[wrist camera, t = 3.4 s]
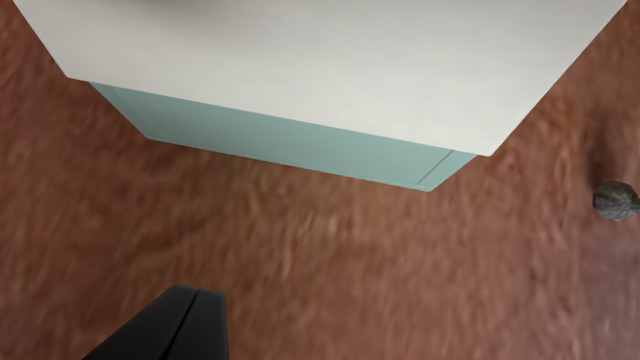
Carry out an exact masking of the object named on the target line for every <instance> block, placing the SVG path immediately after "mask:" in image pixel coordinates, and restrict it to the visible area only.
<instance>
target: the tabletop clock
mask: <svg viewBox="0 0 640 360" xmlns="http://www.w3.org/2000/svg"><path fill="white" fill-rule="evenodd" d="M593 207H594V209H595V210H596V211H597V213H598V214H599V215H600V216H601V217H602V218H606V219H610V220H614V221H620V220H623V219H625V218H628V217H630V216H632V214H633V213H634V212H637V213H640V199H638V196H637V194H636V193H635V191H634V190H633V189H632V187H631V186H630V185H628V184H626V183H622V182H618V181H610V182H608V183H605V184H603V185H600V186H599V187H598V188H597V190H596V191H595V192H594V194H593Z"/></svg>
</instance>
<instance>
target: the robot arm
mask: <svg viewBox="0 0 640 360" xmlns="http://www.w3.org/2000/svg"><path fill="white" fill-rule="evenodd" d="M81 360H229V350H228V333H227V316H226V299H225V295H224V293H222V292H217V291H212V290H207V289H202V290H201V291H199V289H198V288H196V287H192V286H186V285H181V284H175V285H173V286H171V287H170V288H169V289H167V290H166V291H165V292H164V293H163V294H161V295H160V296H159V297H158V298H156V299H155V300H154V301H153V302H151V303H150V304H149V305H148V306H147V307H145V308H144V309H143V310H142V311H140V312H139V313H138V314H137V315H135V316H134V317H133V318H132V319H130V320H129V321H128V322H127V323H126V324H124V325H123V326H122V327H121V328H119V329H118V330H117V331H116V332H114V333H113V334H112V335H111V336H109V337H108V338H107V339H106V340H105V341H103V342H102V343H101V344H100V345H98V346H97V347H96V348H95V349H93V350H92V351H91V352H90V353H88V354H87V355H86V356H85V357H84V358H82V359H81Z"/></svg>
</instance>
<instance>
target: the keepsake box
mask: <svg viewBox="0 0 640 360" xmlns="http://www.w3.org/2000/svg"><path fill="white" fill-rule="evenodd" d="M88 82H89V81H88ZM89 83H90V84H91V85H92V86H93V87H94V88H95V89H96V90H97V91H98V92H100V93H101V94H102V95H103V96H104V97H105V98H106V99H107V100H108V101H109V102H110V103H111V104H112V105H113V106H114V107H115V108H116V109H117V110H118V111H119V112H120V113H121V114H122V115H123V116H124V117H125V118H126V119H127V120H129V121H130V122H131V123H132V124H133V125H134V126H135V127H136V128H137V129H138V130H139V131H140V132H141V133H142V134H143V135H144V136H145V137H146V138H147V139H151V140H157V141H162V142H167V143H173V144H178V145H183V146H188V147H194V148H199V149H204V150H210V151H215V152H220V153H226V154H231V155H236V156H241V157H247V158H252V159H257V160H263V161H268V162H273V163H279V164H284V165H289V166H295V167H300V168H305V169H310V170H316V171H321V172H326V173H332V174H337V175H342V176H348V177H353V178H358V179H364V180H369V181H374V182H379V183H385V184H390V185H395V186H401V187H406V188H411V189H417V190H422V191H427V192H431V191H432V190H433V189H434V188H436V187H437V186H438V185H440V184H441V183H442V182H443V181H445V180H446V179H447V178H448V177H450V176H451V175H452V174H454V173H455V172H456V171H457V170H459V169H460V168H461V167H462V166H464V165H465V164H466V163H468V162H469V161H470V160H471V159H473V158H474V157H475V156H476V155H478V154H473V153H467V152H462V151H457V150H451V149H446V148H441V147H435V146H430V145H425V144H419V143H414V142H409V141H403V140H398V139H393V138H387V137H382V136H377V135H371V134H366V133H361V132H355V131H350V130H345V129H339V128H334V127H329V126H323V125H318V124H313V123H307V122H302V121H297V120H291V119H286V118H281V117H275V116H270V115H265V114H259V113H254V112H249V111H243V110H238V109H233V108H227V107H222V106H217V105H211V104H206V103H201V102H195V101H190V100H185V99H179V98H174V97H169V96H163V95H158V94H153V93H147V92H142V91H137V90H131V89H126V88H121V87H115V86H110V85H105V84H99V83H94V82H89Z"/></svg>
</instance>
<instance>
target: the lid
mask: <svg viewBox="0 0 640 360" xmlns="http://www.w3.org/2000/svg"><path fill="white" fill-rule="evenodd" d="M13 2H14V3H15V5H16V6H17V7H18V9H19V10H20V12H21V13H22V15H23V16H24V17H25V19H26V20H27V22H28V23H29V25H30V26H31V27H32V29H33V30H34V32H35V33H36V34H37V36H38V37H39V39H40V40H41V42H42V43H43V44H44V46H45V47H46V49H47V50H48V52H49V53H50V54H51V56H52V57H53V59H54V60H55V61H56V63H57V64H58V66H59V67H60V69H61V70H62V71H63V73H64V74H65V76H67V77H68V78H73V79H78V80H83V81H89V82H94V83H99V84H105V85H110V86H115V87H121V88H126V89H131V90H137V91H142V92H147V93H153V94H158V95H163V96H169V97H174V98H179V99H185V100H190V101H195V102H201V103H206V104H211V105H217V106H222V107H227V108H233V109H238V110H243V111H249V112H254V113H259V114H265V115H270V116H275V117H281V118H286V119H291V120H297V121H302V122H307V123H313V124H318V125H323V126H329V127H334V128H339V129H345V130H350V131H355V132H361V133H366V134H371V135H377V136H382V137H387V138H393V139H398V140H403V141H409V142H414V143H419V144H425V145H430V146H435V147H441V148H446V149H451V150H457V151H462V152H467V153H473V154H478V155H483V156H491V155H492V154H493V153H494V152H495V151H496V150H497V148H498V147H499V146H500V145H501V144H502V143H503V142H504V140H505V139H506V138H507V137H508V136H509V135H510V134H511V132H512V131H513V130H514V129H515V128H516V127H517V126H518V124H519V123H520V122H521V121H522V120H523V119H524V118H525V117H526V115H527V114H528V113H529V112H530V111H531V110H532V109H533V107H534V106H535V105H536V104H537V103H538V102H539V101H540V99H541V98H542V97H543V96H544V95H545V94H546V93H547V92H548V90H549V89H550V88H551V87H552V86H553V85H554V84H555V82H556V81H557V80H558V79H559V78H560V77H561V76H562V74H563V73H564V72H565V71H566V70H567V69H568V68H569V66H570V65H571V64H572V63H573V62H574V61H575V60H576V59H577V57H578V56H579V55H580V54H581V53H582V52H583V51H584V49H585V48H586V47H587V46H588V45H589V44H590V43H591V41H592V40H593V39H594V38H595V37H596V36H597V35H598V33H599V32H600V31H601V30H602V29H603V28H604V27H605V26H606V24H607V23H608V22H609V21H610V20H611V19H612V18H613V16H614V15H615V14H616V13H617V12H618V11H619V10H620V8H621V7H622V6H623V5H624V4H625V3H626V2H627V0H13Z"/></svg>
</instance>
